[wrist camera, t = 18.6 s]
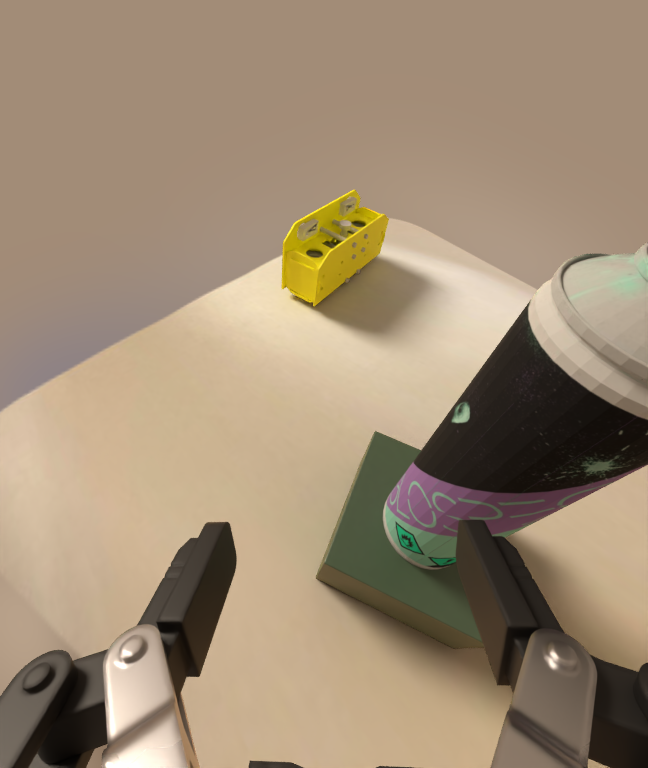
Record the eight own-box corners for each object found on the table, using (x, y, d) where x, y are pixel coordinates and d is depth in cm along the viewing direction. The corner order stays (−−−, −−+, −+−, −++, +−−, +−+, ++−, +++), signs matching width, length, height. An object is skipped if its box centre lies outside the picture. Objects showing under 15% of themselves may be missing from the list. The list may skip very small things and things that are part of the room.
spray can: (366, 504, 23) (573, 171, 7) (429, 469, 25) (695, 153, 9) (417, 588, 20) (930, 349, 4) (483, 542, 22) (988, 268, 7)
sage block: (315, 578, 24) (323, 563, 20) (361, 459, 30) (375, 430, 26) (454, 649, 23) (492, 647, 19) (474, 509, 29) (506, 486, 25)
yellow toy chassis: (347, 243, 52) (358, 184, 45) (380, 259, 50) (396, 199, 44) (278, 292, 43) (279, 226, 37) (315, 313, 41) (323, 248, 35)
